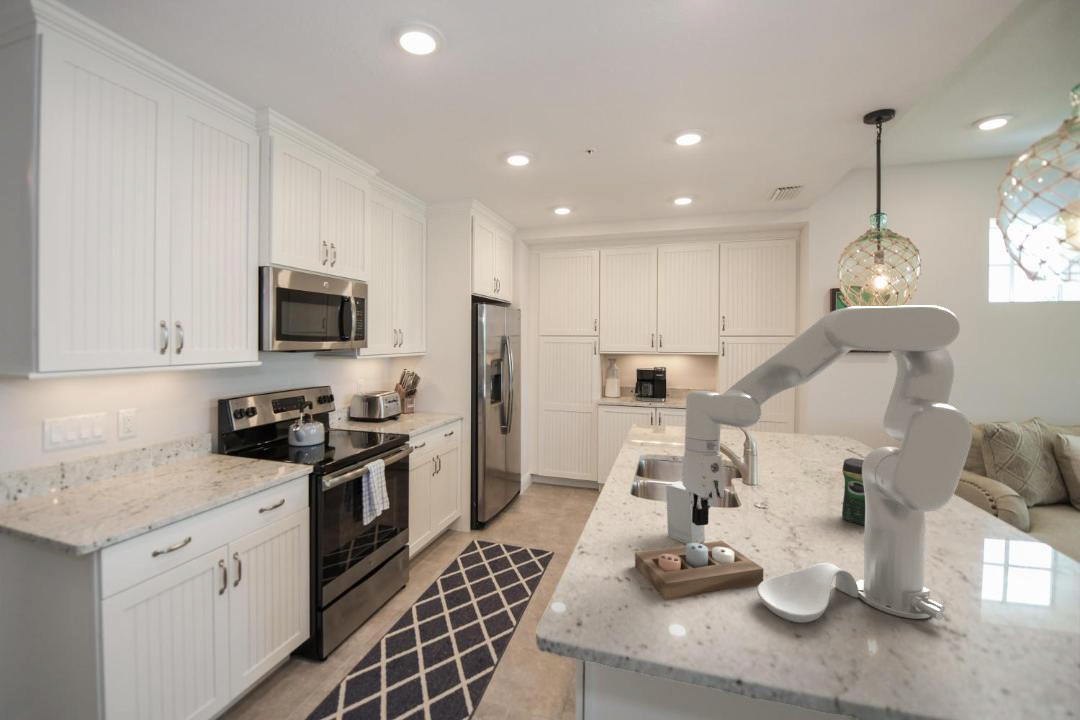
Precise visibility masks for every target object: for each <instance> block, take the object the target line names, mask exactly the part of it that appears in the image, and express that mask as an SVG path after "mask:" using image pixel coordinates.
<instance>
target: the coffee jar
mask: <svg viewBox="0 0 1080 720" xmlns="http://www.w3.org/2000/svg"><path fill="white" fill-rule="evenodd" d="M863 461H864V459H860V458H854V457H849V458H846V459H844V462H843V464H842V465H843V466H842V471H841V472H842V474H843V477H844V490H843V491H844V492H843V501H842V508H841V509H842V511H841V516H842V518H843V519H844V520H846V521H848V522H852V523H854V522H855V524H859V525H861V524H862V526H865V492H864V485H863V478H862V465H863Z"/></svg>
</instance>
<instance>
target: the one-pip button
mask: <svg viewBox="0 0 1080 720" xmlns="http://www.w3.org/2000/svg"><path fill="white" fill-rule="evenodd" d="M712 558H713V559H714V560H715V561H717V562H718V563H719V564H725V563H731V562H734V552H733V551H732V550H731V549H728V548H725V547H714V548H712Z"/></svg>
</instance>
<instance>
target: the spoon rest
mask: <svg viewBox="0 0 1080 720" xmlns="http://www.w3.org/2000/svg"><path fill="white" fill-rule="evenodd" d="M834 578H835V581H834V583H835V584H834V585H835V588H836V589H838V590H839V591H840V592H843V594H847V595H849V596H850V597H853V598H856V599H857V598H859V590H858V586H857V583H856V582H857V581H856V580H855V577H854V576H853V575H852V574H851V572H849V571H848V570H845V569H843V568H839V567H838V566H837V565H835V564H833V563H829V562H821V563H820V562H819V563H817V564H813V565H810V566H807V567H805V568H802V569H798V570H794V571H792V572H788V573H784V574H780V575H777V576H776V575H775V576H773V577H768V578H766V579H763V582H761V583H760V584H759V585H757V589H756V590H757V594H758V597H759V599H760V600H761V602H762V603H763V604H764V605H765V606H766V607H767V609H769V610H770V611H771V612H772V613H773V614H774V615H776V616H778V617H780V618H782V619H784V620H787V621H790V622H792V623H810V622H813V621H815V620H817V619H819V618H820V617H821V616H822V615H823V614H824V612H825V611H826V609H827V607H828V605H829V601H830V597H831V596H830V595H831V589H832V584H833V580H834Z"/></svg>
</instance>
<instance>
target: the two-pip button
mask: <svg viewBox="0 0 1080 720" xmlns="http://www.w3.org/2000/svg"><path fill="white" fill-rule="evenodd" d="M685 545H686V563H687V564H689V565H690V566H691V567H692V568H698V567H704V566H708V548H707V547H706V546H705V545H702V544H699V543H688V544H685Z"/></svg>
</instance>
